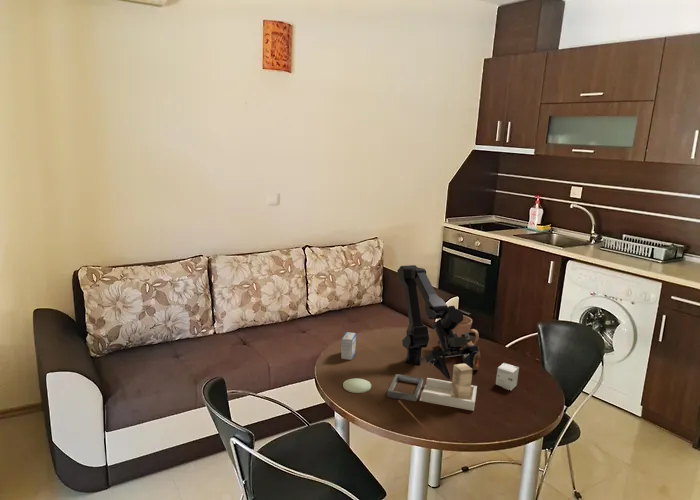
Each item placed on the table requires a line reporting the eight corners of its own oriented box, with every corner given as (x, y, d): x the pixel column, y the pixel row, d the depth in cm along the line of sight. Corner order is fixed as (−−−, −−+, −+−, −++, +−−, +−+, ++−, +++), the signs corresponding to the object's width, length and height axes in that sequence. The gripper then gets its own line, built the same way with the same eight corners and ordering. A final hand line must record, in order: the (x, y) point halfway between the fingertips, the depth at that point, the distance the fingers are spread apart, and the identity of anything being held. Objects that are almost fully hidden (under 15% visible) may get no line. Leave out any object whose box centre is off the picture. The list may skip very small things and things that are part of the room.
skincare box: (495, 386, 187) (497, 367, 186) (501, 380, 192) (503, 362, 191) (511, 391, 184) (513, 372, 182) (517, 385, 189) (519, 366, 187)
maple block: (450, 397, 177) (453, 364, 174) (461, 395, 178) (464, 363, 176) (458, 403, 172) (461, 370, 170) (469, 401, 174) (472, 368, 172)
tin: (460, 357, 211) (462, 338, 210) (468, 357, 212) (470, 338, 210) (472, 373, 197) (474, 353, 195) (480, 373, 197) (482, 353, 195)
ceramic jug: (429, 350, 217) (432, 318, 214) (442, 339, 229) (445, 309, 226) (470, 362, 208) (473, 329, 204) (481, 350, 220) (485, 319, 216)
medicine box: (351, 360, 204) (352, 340, 203) (340, 359, 205) (341, 338, 203) (355, 352, 212) (356, 332, 210) (344, 351, 213) (345, 331, 211)
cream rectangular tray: (425, 386, 185) (425, 377, 184) (476, 395, 180) (477, 386, 179) (419, 402, 174) (420, 392, 173) (473, 412, 168) (474, 402, 168)
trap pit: (395, 380, 189) (396, 373, 188) (422, 384, 186) (423, 378, 185) (387, 397, 176) (387, 390, 175) (415, 403, 173) (416, 396, 172)
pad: (348, 377, 189) (348, 376, 189) (374, 382, 186) (374, 381, 186) (339, 390, 180) (339, 388, 180) (366, 395, 177) (366, 393, 177)
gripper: (432, 328, 172) (447, 372, 164) (478, 323, 179) (495, 365, 171) (419, 341, 181) (433, 384, 173) (464, 336, 188) (479, 376, 180)
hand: (460, 377), depth 174 cm, fingers open, 9 cm apart
